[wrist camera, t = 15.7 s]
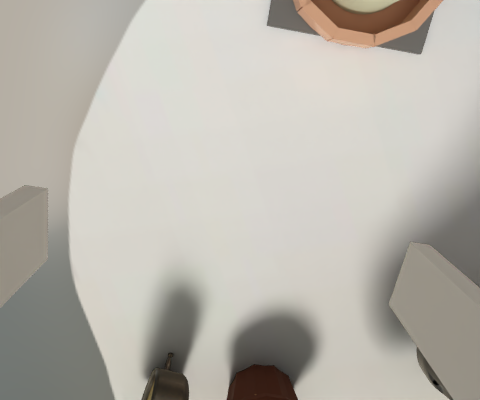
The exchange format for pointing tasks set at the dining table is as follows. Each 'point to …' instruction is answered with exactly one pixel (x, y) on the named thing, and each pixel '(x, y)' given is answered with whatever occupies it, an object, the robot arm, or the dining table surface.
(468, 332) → the robot arm
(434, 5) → the bowl
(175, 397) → the alarm clock
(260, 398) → the muffin
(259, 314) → the dining table surface
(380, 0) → the can
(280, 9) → the mat
